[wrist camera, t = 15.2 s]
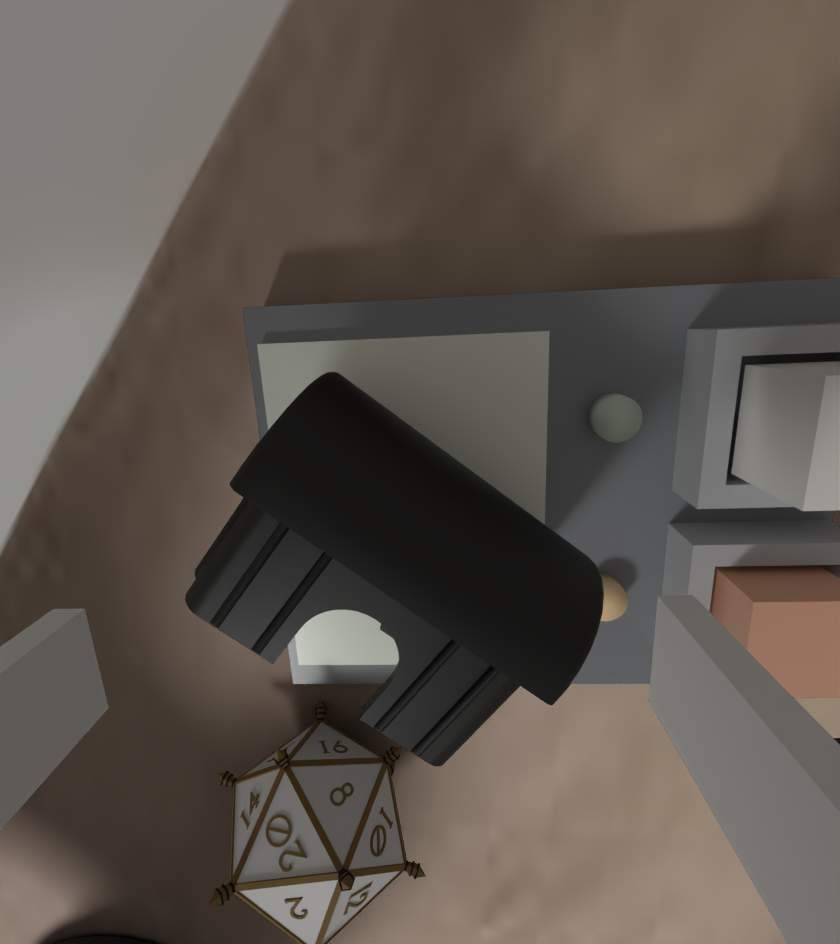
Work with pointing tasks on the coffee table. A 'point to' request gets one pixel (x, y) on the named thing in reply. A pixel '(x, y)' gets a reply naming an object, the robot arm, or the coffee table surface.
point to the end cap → (398, 567)
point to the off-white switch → (791, 433)
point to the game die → (315, 832)
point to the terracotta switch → (785, 622)
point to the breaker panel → (573, 433)
